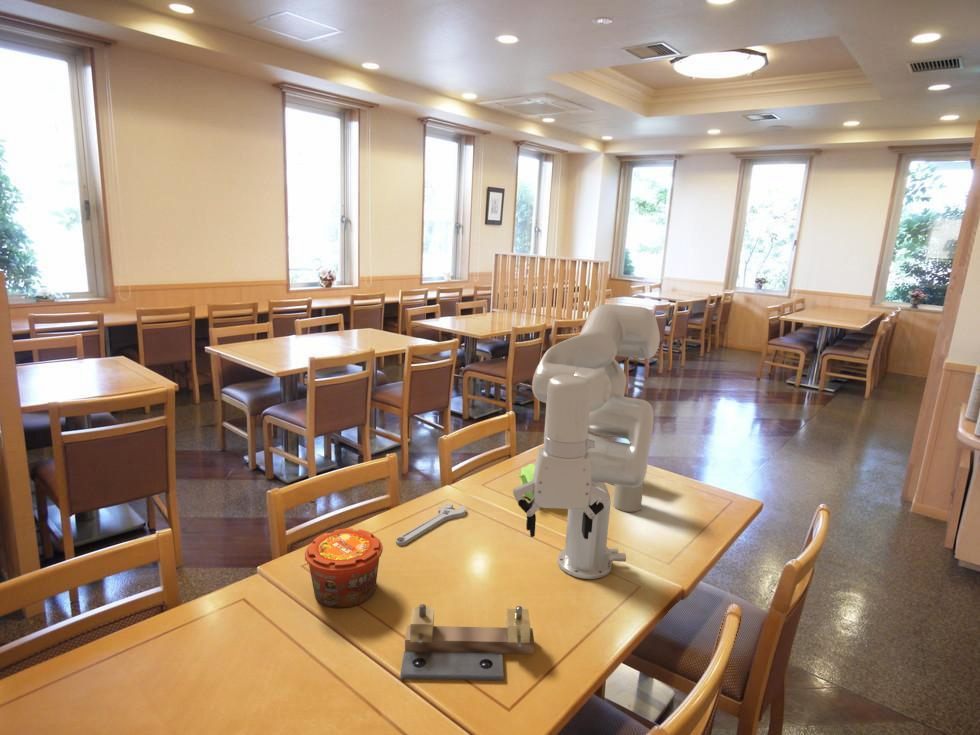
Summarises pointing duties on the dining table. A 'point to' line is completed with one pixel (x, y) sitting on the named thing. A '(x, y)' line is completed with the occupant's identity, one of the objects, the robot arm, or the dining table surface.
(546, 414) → the robot arm
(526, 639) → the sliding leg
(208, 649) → the dining table surface
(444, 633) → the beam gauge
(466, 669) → the flange plate
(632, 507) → the travel mug
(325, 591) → the food container
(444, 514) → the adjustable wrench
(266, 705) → the dining table surface
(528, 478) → the teapot
